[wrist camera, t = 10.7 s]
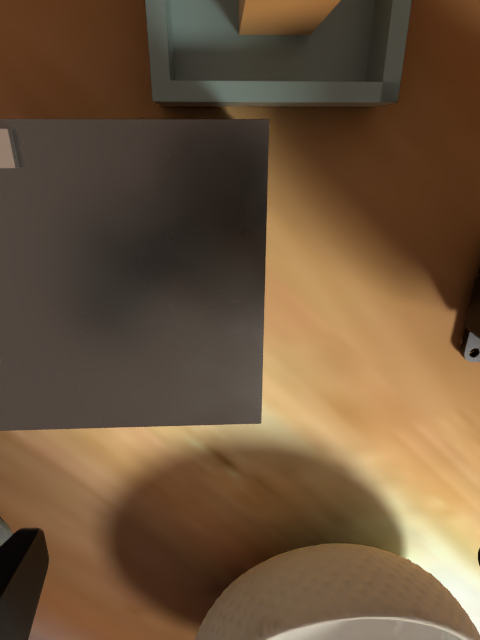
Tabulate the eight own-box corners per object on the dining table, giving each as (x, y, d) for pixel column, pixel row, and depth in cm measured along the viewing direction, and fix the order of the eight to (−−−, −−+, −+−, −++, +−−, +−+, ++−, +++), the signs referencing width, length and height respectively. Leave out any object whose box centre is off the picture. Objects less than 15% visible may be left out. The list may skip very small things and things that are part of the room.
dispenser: (248, 126, 16) (269, 119, 9) (246, 322, 20) (261, 427, 12) (-190, 125, 15) (-531, 117, 8) (-112, 328, 19) (-309, 443, 12)
